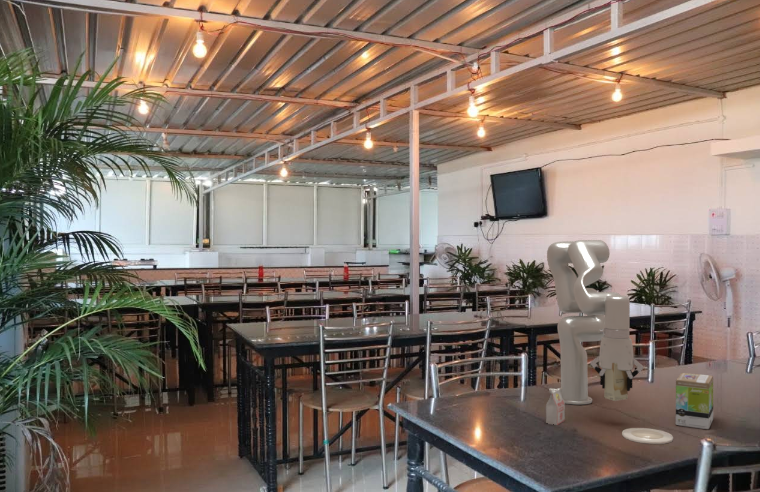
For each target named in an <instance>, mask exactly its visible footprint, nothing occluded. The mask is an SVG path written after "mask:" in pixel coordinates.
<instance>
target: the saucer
mask: <svg viewBox="0 0 760 492" xmlns="http://www.w3.org/2000/svg"><path fill="white" fill-rule="evenodd" d="M621 435H622V437H623V438H624V439H626V440H627V441H631V442H634V443H639V444H648V445H666V444H670V443H672V442H673V441H674V437H673V435H672V434H671V433H669V432H666V431H664V430H661V429H655V428H646V427H630V428H626V429H624V430H622V432H621Z"/></svg>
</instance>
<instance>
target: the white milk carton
mask: <svg viewBox="0 0 760 492" xmlns="http://www.w3.org/2000/svg"><path fill="white" fill-rule="evenodd" d="M565 405H566V403H564V400H563V398H562V396H561V393H560V390H557V391H555V392H553V393H550V395H549V398H548V400H547V402H546V404H545V423H548V425H553V424H554V425H553V426H559V425H560V424H561V423H564V422H565V421H566V415H565V414H566V413H565V412H566V411H565V410H566V408H565V407H566V406H565Z"/></svg>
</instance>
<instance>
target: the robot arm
mask: <svg viewBox="0 0 760 492" xmlns="http://www.w3.org/2000/svg"><path fill="white" fill-rule="evenodd" d="M610 253H611V251H610V248H609V245H608V244H607V243H606V242H605V241H603V240H601V239H583V240H582V239H579V240H574V241H568V240H567V241H557V242H553V243H550V245H548V248H547V251H546V260H547V265H548V267H549V270H550V273H551V276H552V278H553V282H554V288H555V295H556V301H557V305H558V309H559V310H560V312H562V313H564V314H584V315H568V316H564V317H561V318H560V319H559V321H558V322H557V333H558V334H557V335H558V338H559V347H560V348H559V349H560V387H558V388H554V387H549V389H548V390H549V392H548V393H549V394H551V393H553V392H555V391H557V390H560V393H561V396H562V398H563V400H564V403H565V405H566V404H567V405H580V406H581V405H590V404H591V403H592V402H593V398H592V397H591V396H589V393H588V390H589V387H588V385H589V384H588V383H589V382H588V381H589V380H588V379H589V378H588V376H589V375H588V353H587V351H586V349H585V348H584V346H583V345H582V343H583V342H598V341H599V342H600V344H599V345H600V347H599V355H598V356H596V357H595V358H594V359H592V360H591V361H590V362H589V363H590V366H592V368H593V369H594V371H595V372H597V374H599V376H600V377H599V378H600V380H599V381H600V382H599V385H601V387H602V389H605V371H606V369H609V370H610V369H612V363H617V370H620V371H626V373H627V375H628V378H627V391H628V392H630V391H631V389H633V378H635V377H636V376H637V375H638V374H639V373H641V372H642V370H644V365H643V364H642V363H640V361H638V360H637V359H636V358H635V357H634V345H633V341H632V338H630V309H631V308H630V307H631V304H630V302H631V301H630V298H629V297H628V296H627V295H622V294H621V293H618V292H615V291H609V292H608V291H606V292H605V291H603V292H602V291H599V292H598V291H597V290H596V289H595V288H592V287H588V286H590V285H592V284H594V283H596V282H597V281H599V279H601V278H602V276H603V274H604V269H603V267H602V265H601V264H604V263H606V262H608V260H609V258H610ZM568 264H570V265H571V264H572V266H573V269H575V271H574V270H572V268H571V267H570V266H568ZM575 272H576V273H575ZM597 363H599V365H598V364H597ZM634 366H635V367H636V369H634V370H633V368H634ZM632 370H633V371H632Z"/></svg>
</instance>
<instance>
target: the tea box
mask: <svg viewBox="0 0 760 492" xmlns="http://www.w3.org/2000/svg"><path fill="white" fill-rule="evenodd" d="M713 420H714V376H713V375H707V374H699V373H698V374H697V373H687V372H680V374H679V375H678V377H677V378H676V380H675V425H677V426H681V427H686V428H696V429H704V430H709V429H710V428H711V425H712V423H713Z"/></svg>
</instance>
